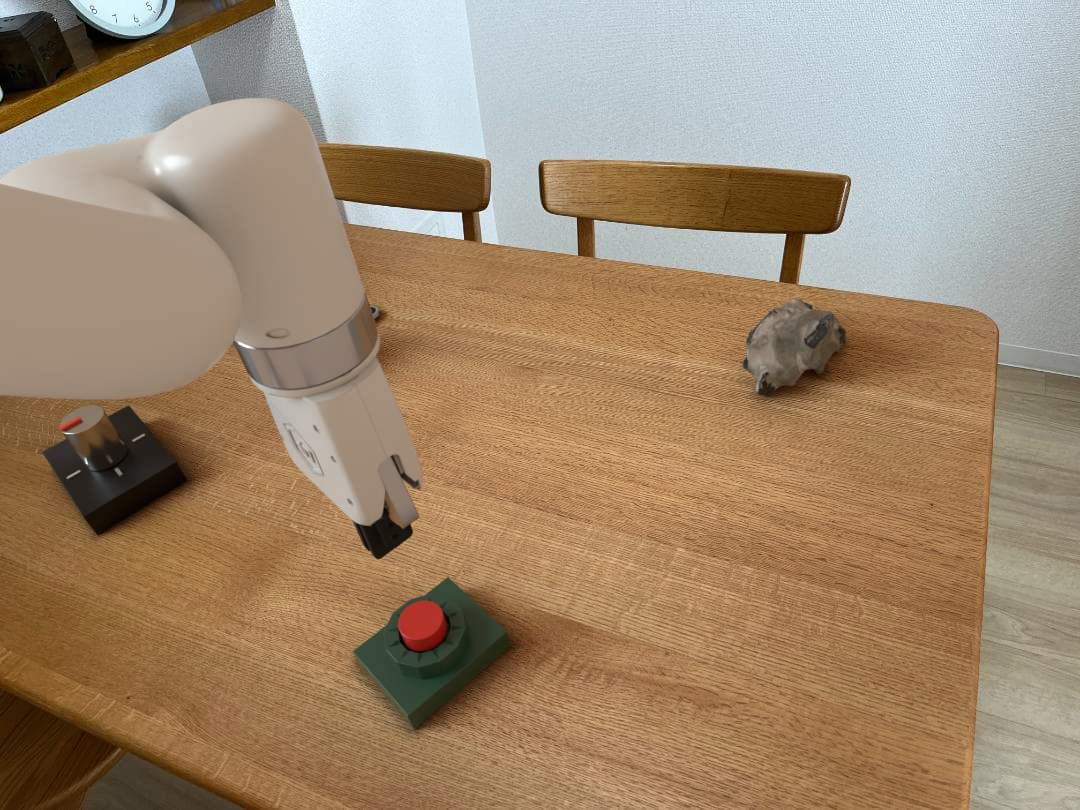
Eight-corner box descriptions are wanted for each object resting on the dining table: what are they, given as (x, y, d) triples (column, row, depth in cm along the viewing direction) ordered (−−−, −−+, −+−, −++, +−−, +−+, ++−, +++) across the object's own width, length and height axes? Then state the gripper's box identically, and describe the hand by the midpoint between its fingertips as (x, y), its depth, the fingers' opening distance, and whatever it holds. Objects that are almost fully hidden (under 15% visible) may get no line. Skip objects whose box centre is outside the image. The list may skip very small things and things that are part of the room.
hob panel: (188, 480, 87) (175, 460, 85) (97, 535, 82) (82, 515, 80) (140, 423, 95) (127, 403, 93) (55, 470, 91) (40, 450, 89)
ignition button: (420, 660, 63) (415, 648, 61) (394, 632, 65) (389, 620, 64) (456, 630, 64) (452, 618, 63) (430, 604, 66) (425, 592, 65)
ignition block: (414, 730, 62) (402, 704, 60) (359, 665, 67) (345, 639, 64) (511, 646, 67) (503, 618, 64) (452, 591, 72) (443, 563, 69)
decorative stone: (770, 309, 95) (796, 242, 87) (845, 340, 92) (879, 274, 84) (718, 396, 86) (743, 330, 78) (800, 434, 83) (834, 370, 75)
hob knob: (118, 436, 89) (92, 397, 85) (134, 453, 87) (108, 413, 83) (79, 459, 87) (51, 419, 83) (95, 477, 84) (67, 437, 81)
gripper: (190, 317, 48) (292, 518, 60) (316, 429, 39) (407, 639, 51) (300, 261, 51) (375, 462, 63) (440, 353, 42) (497, 567, 54)
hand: (389, 541), depth 57 cm, fingers closed
